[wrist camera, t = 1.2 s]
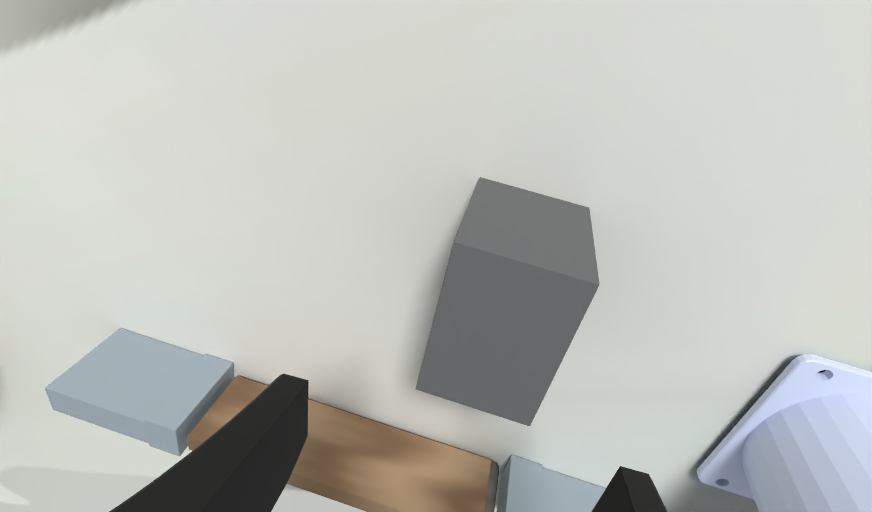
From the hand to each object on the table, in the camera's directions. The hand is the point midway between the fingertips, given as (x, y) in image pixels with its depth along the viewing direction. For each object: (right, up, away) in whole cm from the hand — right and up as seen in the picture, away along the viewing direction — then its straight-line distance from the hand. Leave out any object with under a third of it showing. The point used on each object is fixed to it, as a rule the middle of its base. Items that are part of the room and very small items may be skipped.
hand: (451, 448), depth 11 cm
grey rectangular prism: (+3, +4, +7) cm, 9 cm away
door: (-4, -4, +14) cm, 15 cm away
